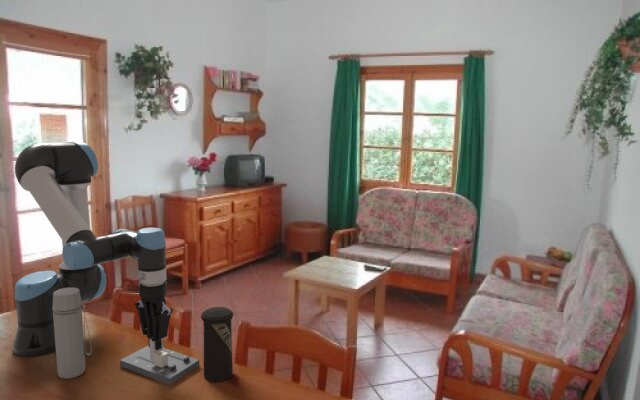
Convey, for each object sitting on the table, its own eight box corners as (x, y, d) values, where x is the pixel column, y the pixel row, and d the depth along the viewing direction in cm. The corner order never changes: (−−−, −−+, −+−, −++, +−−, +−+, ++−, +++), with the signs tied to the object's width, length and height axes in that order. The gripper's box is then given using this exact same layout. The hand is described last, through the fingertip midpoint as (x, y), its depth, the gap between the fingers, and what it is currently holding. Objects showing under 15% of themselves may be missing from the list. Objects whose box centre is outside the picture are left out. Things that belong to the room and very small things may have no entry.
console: (120, 366, 143) (119, 356, 142) (151, 349, 153) (151, 340, 152) (169, 385, 133) (169, 374, 133) (199, 366, 144) (199, 356, 143)
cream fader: (154, 364, 139) (154, 353, 139) (160, 361, 142) (160, 350, 141) (162, 367, 138) (161, 356, 137) (168, 364, 140) (167, 352, 140)
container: (226, 385, 134) (226, 318, 131) (197, 380, 136) (195, 314, 133) (238, 369, 143) (237, 306, 139) (209, 365, 144) (209, 303, 141)
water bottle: (57, 383, 133) (50, 298, 128) (57, 369, 140) (51, 288, 135) (93, 375, 137) (88, 293, 133) (92, 363, 144) (87, 284, 139)
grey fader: (150, 350, 148) (149, 339, 147) (156, 347, 150) (155, 336, 149) (157, 352, 146) (156, 341, 146) (163, 349, 148) (162, 338, 148)
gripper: (126, 281, 136) (129, 358, 140) (159, 290, 130) (162, 370, 134) (146, 274, 143) (149, 347, 147) (179, 282, 137) (181, 358, 141)
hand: (155, 358), depth 141 cm, fingers closed
